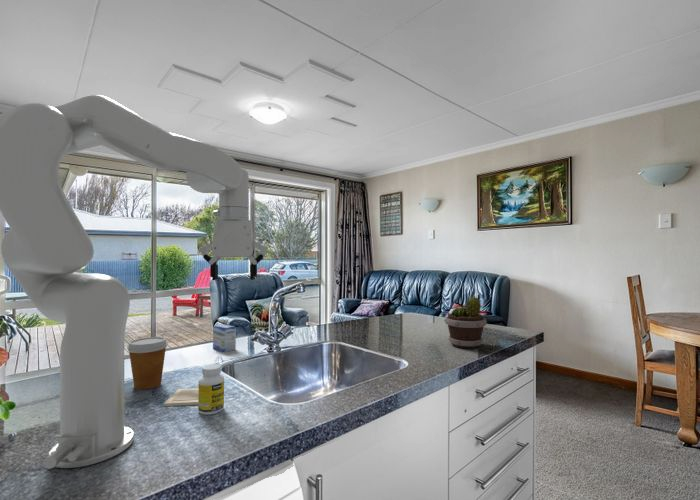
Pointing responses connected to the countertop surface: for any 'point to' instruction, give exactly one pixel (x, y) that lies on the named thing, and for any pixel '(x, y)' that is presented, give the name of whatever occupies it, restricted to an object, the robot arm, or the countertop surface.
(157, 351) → the disposable coffee cup
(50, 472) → the countertop surface
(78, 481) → the countertop surface
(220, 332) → the medicine box
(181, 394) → the coaster
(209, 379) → the supplement bottle
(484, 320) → the flowerpot
